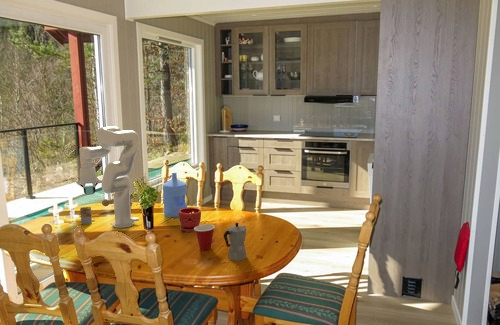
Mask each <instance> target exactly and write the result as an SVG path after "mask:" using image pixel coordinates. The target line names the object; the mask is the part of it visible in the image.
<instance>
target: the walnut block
mask: <svg viewBox="0 0 500 325" xmlns="http://www.w3.org/2000/svg"><path fill="white" fill-rule="evenodd" d="M79 213H80V218H81V217H90V216H91V215H92V206H85V207H80V208H79Z"/></svg>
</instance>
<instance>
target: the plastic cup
mask: <svg viewBox="0 0 500 325" xmlns="http://www.w3.org/2000/svg"><path fill="white" fill-rule="evenodd" d="M215 227H216V226H215V225H214V224H201V225H200V224H199V226H197V227H195V228H194V230H195V231H194V232H195V234H196V237H197V242H198V247H199V250H200V251H210V250H211V249H212V244H213V237H214V232H215Z"/></svg>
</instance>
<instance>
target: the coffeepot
mask: <svg viewBox="0 0 500 325" xmlns="http://www.w3.org/2000/svg"><path fill="white" fill-rule="evenodd" d="M246 234H247V226H246V225H239V222H235V224H234V225H232V226H229V227H228V228H227V230H225V231H224V233H223V239H224V241H225V244H226V247H227V248H229V249H228V255H227V257H228V260H231V261H233V262H234V261H237V262H240V261H244V260H246V258H247V251H246V246H245V241H246ZM229 242H230V243H229Z"/></svg>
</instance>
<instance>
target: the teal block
mask: <svg viewBox="0 0 500 325" xmlns="http://www.w3.org/2000/svg"><path fill="white" fill-rule="evenodd" d="M85 189H86V194H85V196H88V195H89V196H91V195H92V196H93V195H95V193H93V184H91V185H85Z"/></svg>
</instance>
